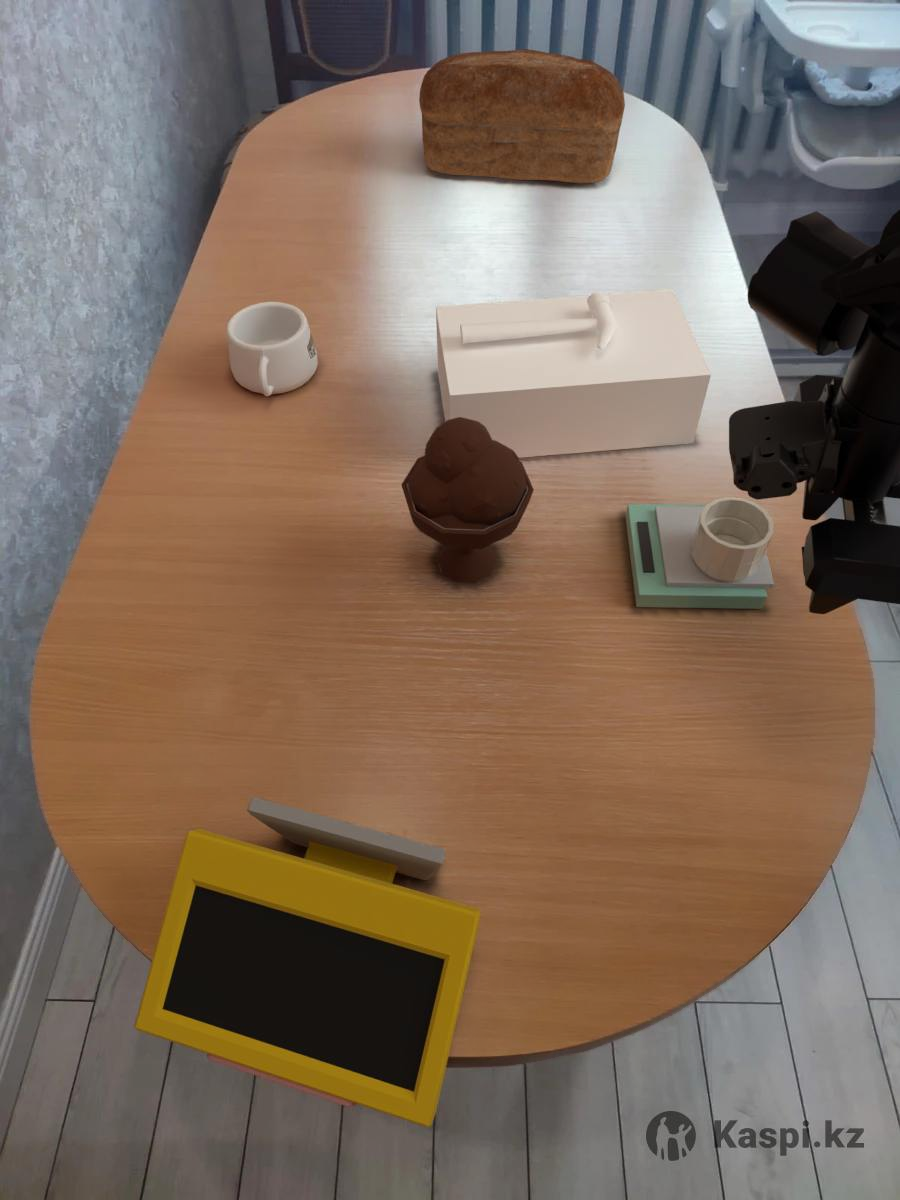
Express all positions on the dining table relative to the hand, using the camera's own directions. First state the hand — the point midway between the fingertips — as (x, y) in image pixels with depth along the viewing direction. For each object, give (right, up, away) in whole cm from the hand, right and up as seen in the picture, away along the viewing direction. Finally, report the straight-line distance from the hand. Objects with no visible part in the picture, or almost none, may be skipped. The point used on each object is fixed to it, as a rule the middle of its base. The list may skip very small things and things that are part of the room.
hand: (812, 563), depth 66 cm
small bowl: (-2, +1, +13) cm, 13 cm away
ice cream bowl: (-25, +1, +17) cm, 30 cm away
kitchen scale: (-5, +1, +16) cm, 17 cm away
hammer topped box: (-15, +18, +30) cm, 38 cm away
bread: (-17, +60, +63) cm, 88 cm away
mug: (-46, +22, +34) cm, 62 cm away
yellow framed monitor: (-33, -19, -4) cm, 38 cm away
